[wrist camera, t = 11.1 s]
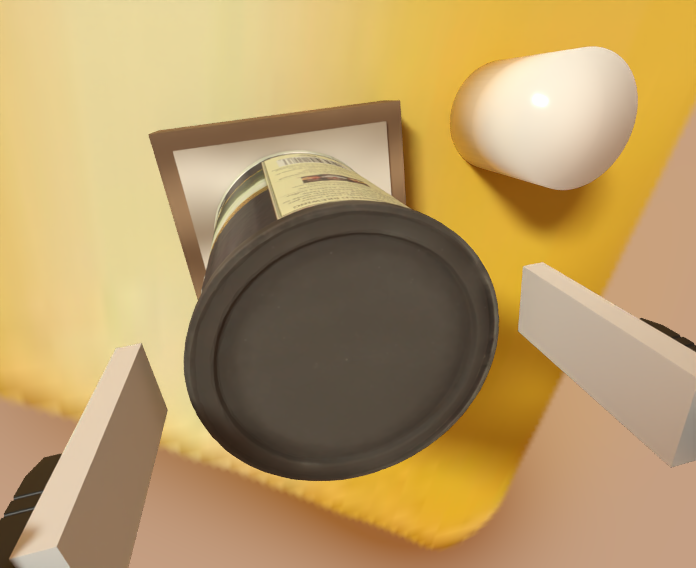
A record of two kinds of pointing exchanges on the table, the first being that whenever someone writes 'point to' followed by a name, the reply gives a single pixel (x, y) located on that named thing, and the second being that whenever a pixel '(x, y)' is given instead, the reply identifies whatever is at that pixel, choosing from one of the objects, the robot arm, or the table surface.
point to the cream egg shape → (547, 116)
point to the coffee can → (333, 323)
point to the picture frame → (261, 141)
